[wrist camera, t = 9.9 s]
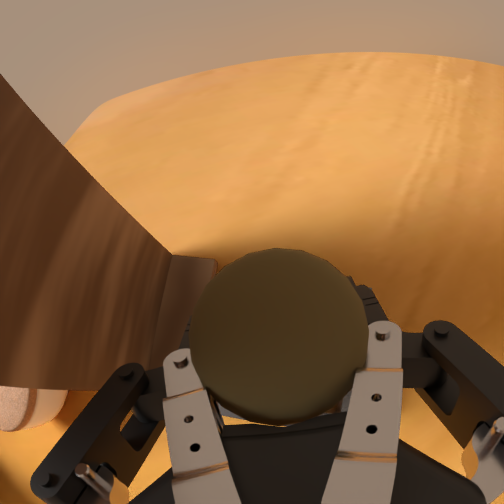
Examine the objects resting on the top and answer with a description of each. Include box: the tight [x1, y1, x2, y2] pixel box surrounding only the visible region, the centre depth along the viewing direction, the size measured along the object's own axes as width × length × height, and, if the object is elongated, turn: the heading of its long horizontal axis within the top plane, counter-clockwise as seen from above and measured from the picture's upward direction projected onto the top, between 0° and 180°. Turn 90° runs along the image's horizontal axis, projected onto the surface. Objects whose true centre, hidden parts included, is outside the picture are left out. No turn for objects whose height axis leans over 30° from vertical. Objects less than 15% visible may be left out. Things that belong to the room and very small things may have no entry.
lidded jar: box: [0, 386, 68, 432], centre depth 21 cm, size 11×11×9 cm
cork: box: [188, 248, 369, 426], centre depth 12 cm, size 6×6×11 cm
